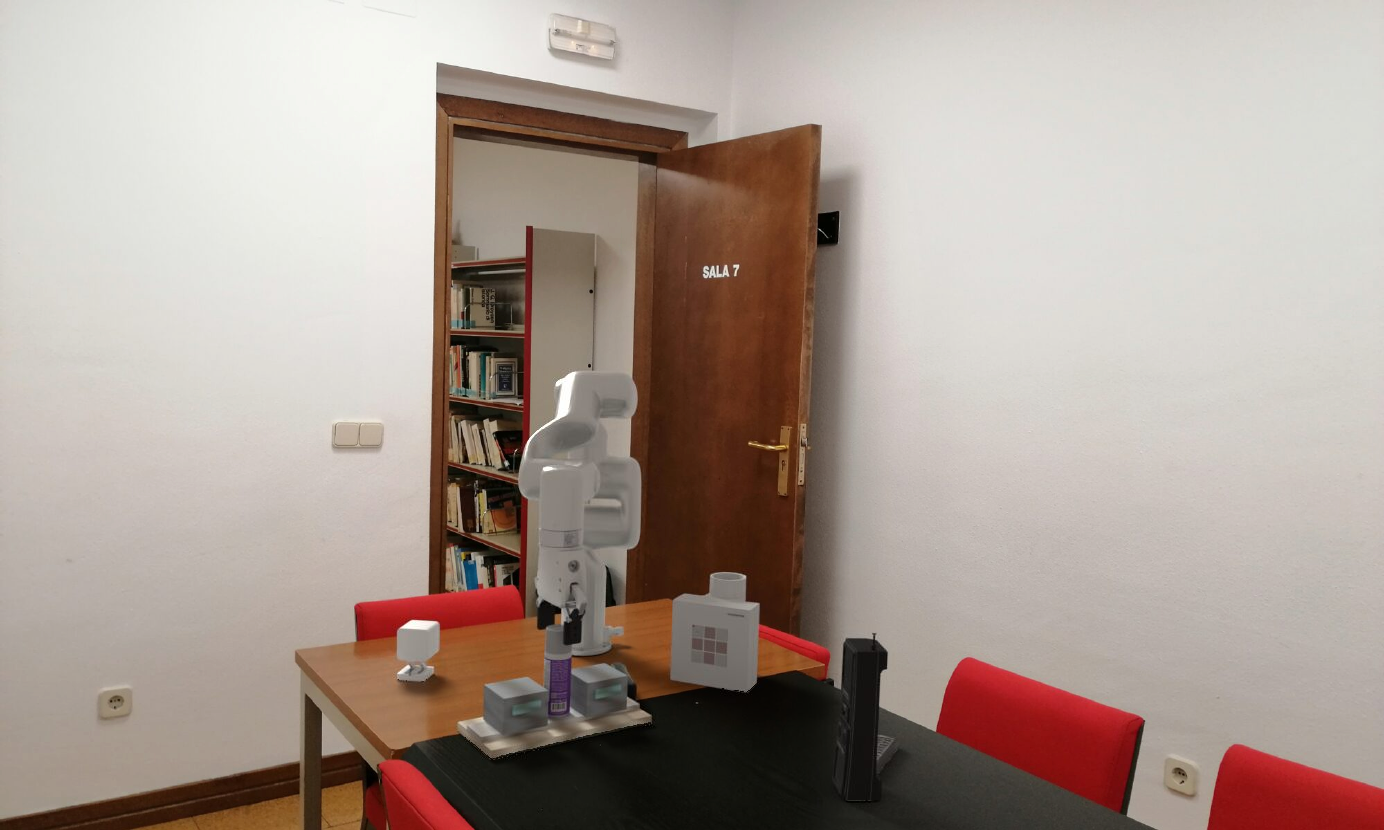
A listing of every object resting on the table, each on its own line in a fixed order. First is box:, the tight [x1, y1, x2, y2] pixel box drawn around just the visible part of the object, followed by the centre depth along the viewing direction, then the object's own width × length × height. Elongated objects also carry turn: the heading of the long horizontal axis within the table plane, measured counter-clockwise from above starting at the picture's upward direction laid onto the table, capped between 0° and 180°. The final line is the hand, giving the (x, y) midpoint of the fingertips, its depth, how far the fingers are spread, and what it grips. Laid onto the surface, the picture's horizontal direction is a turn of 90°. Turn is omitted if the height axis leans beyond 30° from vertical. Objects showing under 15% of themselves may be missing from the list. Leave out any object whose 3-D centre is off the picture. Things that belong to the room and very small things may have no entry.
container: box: [542, 623, 573, 718], centre depth 168 cm, size 5×5×15 cm
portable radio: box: [832, 632, 889, 801], centre depth 147 cm, size 8×6×25 cm
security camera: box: [396, 619, 441, 682], centre depth 193 cm, size 6×7×10 cm
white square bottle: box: [669, 571, 760, 693], centre depth 200 cm, size 16×19×20 cm
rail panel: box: [457, 662, 653, 759], centre depth 168 cm, size 30×14×8 cm, turn 125°
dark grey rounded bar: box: [610, 662, 638, 702], centre depth 186 cm, size 5×3×15 cm
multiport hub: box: [876, 732, 900, 774], centre depth 159 cm, size 4×14×2 cm, turn 153°
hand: (558, 635), depth 168 cm, fingers open, 9 cm apart
